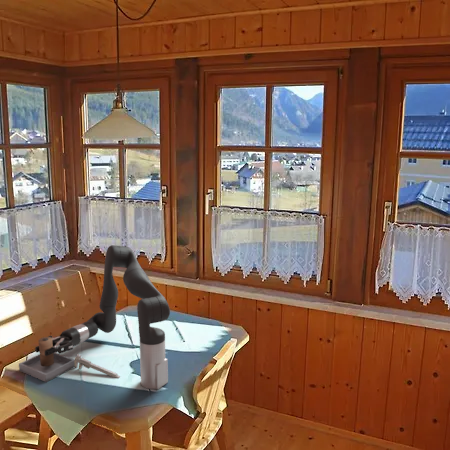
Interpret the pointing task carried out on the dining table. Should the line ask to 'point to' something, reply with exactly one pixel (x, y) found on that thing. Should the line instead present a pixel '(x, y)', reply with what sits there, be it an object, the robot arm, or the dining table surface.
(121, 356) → the dining table surface
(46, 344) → the cylinder
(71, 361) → the tray
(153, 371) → the robot arm
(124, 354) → the dining table surface
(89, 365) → the caliper
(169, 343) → the dining table surface
